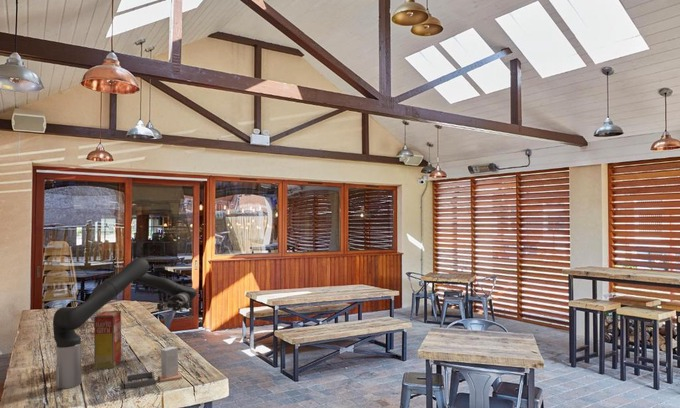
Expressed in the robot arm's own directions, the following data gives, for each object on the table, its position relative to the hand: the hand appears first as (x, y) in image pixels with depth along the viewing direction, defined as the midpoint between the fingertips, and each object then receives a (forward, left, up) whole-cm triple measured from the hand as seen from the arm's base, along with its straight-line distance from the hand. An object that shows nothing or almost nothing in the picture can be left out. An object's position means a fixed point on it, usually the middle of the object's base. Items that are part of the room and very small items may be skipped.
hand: (168, 308), depth 225 cm
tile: (-1, -15, -28) cm, 32 cm away
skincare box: (-1, -15, -27) cm, 31 cm away
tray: (-13, -15, -28) cm, 35 cm away
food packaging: (-27, +20, -28) cm, 44 cm away
